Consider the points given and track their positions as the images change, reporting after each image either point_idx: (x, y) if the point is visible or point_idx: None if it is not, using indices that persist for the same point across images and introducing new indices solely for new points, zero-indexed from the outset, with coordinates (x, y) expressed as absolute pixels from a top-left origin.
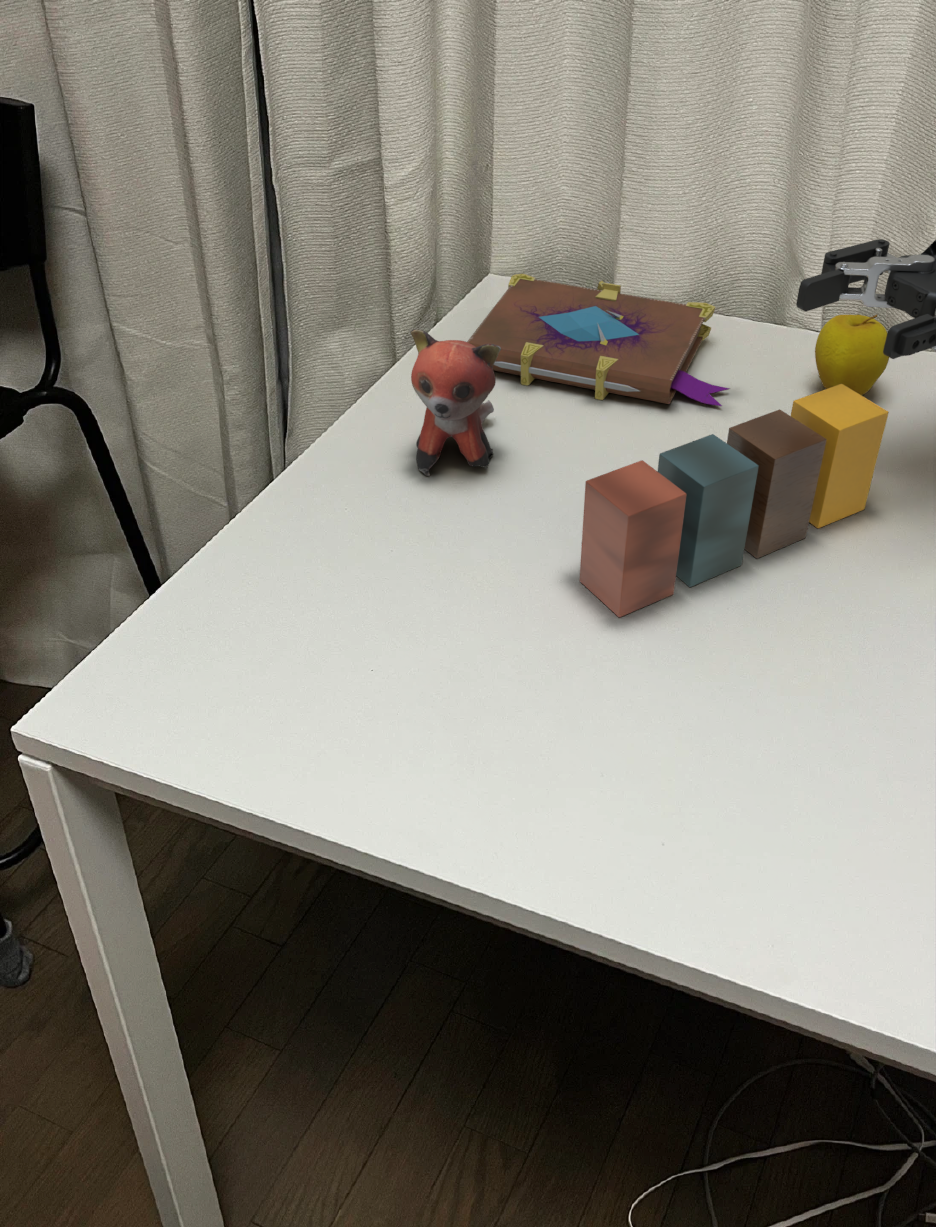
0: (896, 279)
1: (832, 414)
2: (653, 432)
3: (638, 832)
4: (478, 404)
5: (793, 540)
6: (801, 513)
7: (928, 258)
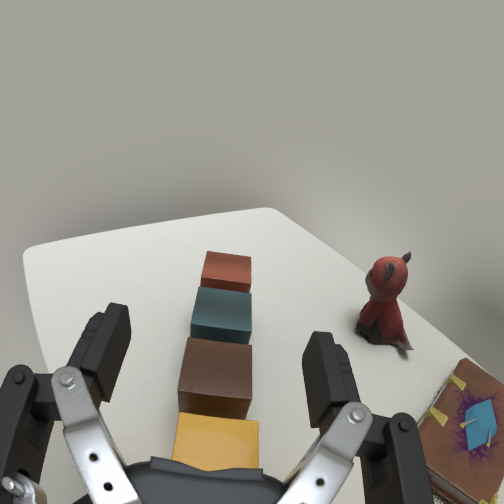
0: (252, 470)
1: (208, 431)
2: None
3: (115, 250)
4: (371, 290)
5: None
6: None
7: None
